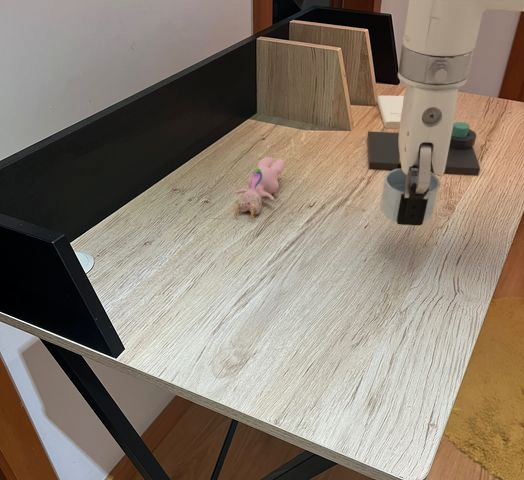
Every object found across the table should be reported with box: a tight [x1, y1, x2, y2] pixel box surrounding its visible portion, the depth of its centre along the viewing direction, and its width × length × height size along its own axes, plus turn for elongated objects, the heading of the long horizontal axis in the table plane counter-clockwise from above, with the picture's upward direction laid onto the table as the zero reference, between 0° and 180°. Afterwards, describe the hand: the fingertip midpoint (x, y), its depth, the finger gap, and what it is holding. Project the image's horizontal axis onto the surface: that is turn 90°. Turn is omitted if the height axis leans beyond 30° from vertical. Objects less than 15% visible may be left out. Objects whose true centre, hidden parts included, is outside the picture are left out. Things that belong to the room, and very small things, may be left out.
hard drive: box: [376, 94, 404, 130], centre depth 111 cm, size 2×8×12 cm
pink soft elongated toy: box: [233, 156, 285, 222], centre depth 87 cm, size 6×6×15 cm
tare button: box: [452, 121, 471, 138], centre depth 99 cm, size 3×3×2 cm
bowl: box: [379, 168, 441, 223], centre depth 74 cm, size 7×7×4 cm
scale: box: [366, 128, 481, 177], centre depth 98 cm, size 18×12×3 cm
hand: (407, 206), depth 75 cm, fingers closed on bowl, 7 cm apart
